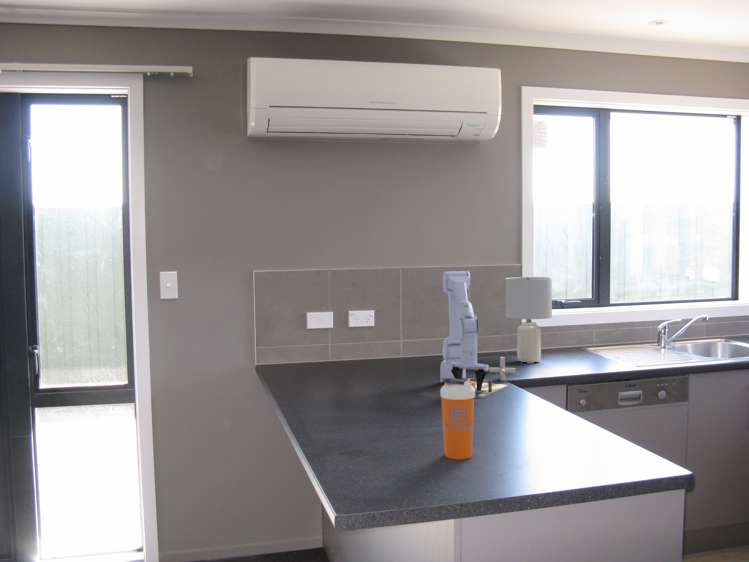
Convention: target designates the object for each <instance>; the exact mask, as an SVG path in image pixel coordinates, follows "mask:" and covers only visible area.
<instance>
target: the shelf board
mask: <svg viewBox="0 0 749 562" xmlns="http://www.w3.org/2000/svg"><path fill="white" fill-rule="evenodd" d="M468 378H469V379H470V381H474V382H475V391H477V380H476V378H470V377H468ZM463 379H464V378H462V380H463ZM508 386H509V384H503V383H502V384H501V383H493V380H492V379H490V380H489V379H484V380H483V383H482V388H481V390H480V391H484V392H482V393H479V394H478V395H477V398H476V400H482V399H483V400H485V398H482V397H486V396H488V395H490V394H492V393H495V392H496V391H499V390H501V389H503V388H505V387H508ZM483 400H482V401H483Z"/></svg>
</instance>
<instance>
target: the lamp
mask: <svg viewBox="0 0 749 562" xmlns="http://www.w3.org/2000/svg"><path fill="white" fill-rule="evenodd" d="M552 281H553V280H552V277H547V276H546V277H544V276H541V277H540V276H539V277H538V276H523V277H522V276H519V277H518V276H517V277H516V276H515V277H505V317H506V318H508V319H513V320H525V321H523V322H521V324H520V325H519V326H518V327H517V329H516V331H517V332H516V333H517V335H516V336H517V337H516V339H517V340H516V342H517V343H516V345H517V347H516V349H517V352H516V353H517V360H518V362H519V361H521V362H520V363H522V362H527V363H526V364H535V363H534V362H537V363H539V362H540V361H541V359H542V353H541V352H542V350H541V349H542V345H541V344H542V339H541V338H542V337H541V335H542V332H541V327H540V326H539V325H538V324H537V322H534V321H532V320H545V319H551V318H553V303H552V301H553V291H552V290H553V282H552Z"/></svg>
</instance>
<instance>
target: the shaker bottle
mask: <svg viewBox="0 0 749 562" xmlns="http://www.w3.org/2000/svg"><path fill="white" fill-rule="evenodd" d="M469 378H470V377H466V378H464V379H463V380H462V379H456V378H445V379H443V382H444V385H442V386H441V388H440V391H439V392H440V399H441V412H442V430H443V431H442V433H443V449H444V456H445V457H446V459H451V460H455V461H456V460H457V461H458V460H460V461H461V460H463V461H464V460H468V459H470V458H472V457H473V448H474V447H473V440H474V420H475V419H474V416H475V415H474V412H475V411H474V410H475V398H476V390H475V389H474V388H473V386H472V384H471V381H470V379H469Z"/></svg>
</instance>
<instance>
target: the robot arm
mask: <svg viewBox="0 0 749 562" xmlns="http://www.w3.org/2000/svg"><path fill="white" fill-rule="evenodd" d="M470 285H471V274H470V272H469V271H468V270H465V271H462V270H461V271H460V270H459V271H458V270H457V271H455V270H454V271H443V274H442V289H443V290H442V291H443V292H444V293H445V294H447V297H448V315H449V316H448V319H449V320H448V321H449V322H448V323H449V335H448V337H446V338H445V339H444V340H443V342H442V359H443V360H442V361H441V363H440V367H439V374H440V375H439V376H440V377H439V379H440V382H439V383H443V382H444V381H443V379H445V378H456V379H462V378H467V376H466V375H467V373H466V370H472V371H473V370H475V371H474V374H475V379H476V380H477V390H476V391H478V392H480V391H482V390H481V388H482V383H483V380H485V377H486V375H487V374H488V371H490V365H489V364H483V363H478V339H477V338H478V334H479V330H480V325H479V318H477V315H475V312H474V308H473V305H472V302H470V301H469V299H468V291H467V290H468V289H469V287H470Z"/></svg>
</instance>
